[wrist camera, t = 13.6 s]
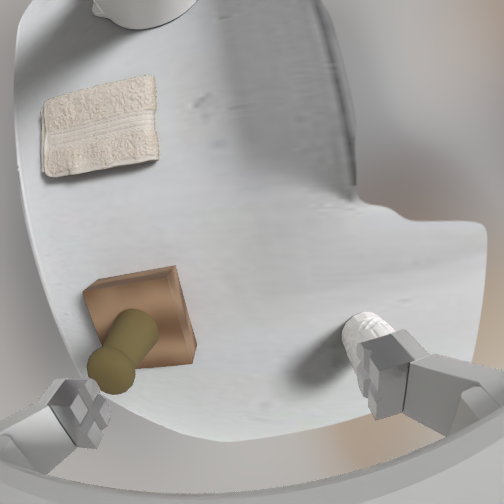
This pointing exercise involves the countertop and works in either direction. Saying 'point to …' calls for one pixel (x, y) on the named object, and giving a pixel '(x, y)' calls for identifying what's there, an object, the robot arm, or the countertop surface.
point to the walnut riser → (154, 304)
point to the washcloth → (100, 128)
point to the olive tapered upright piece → (123, 351)
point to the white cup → (362, 333)
